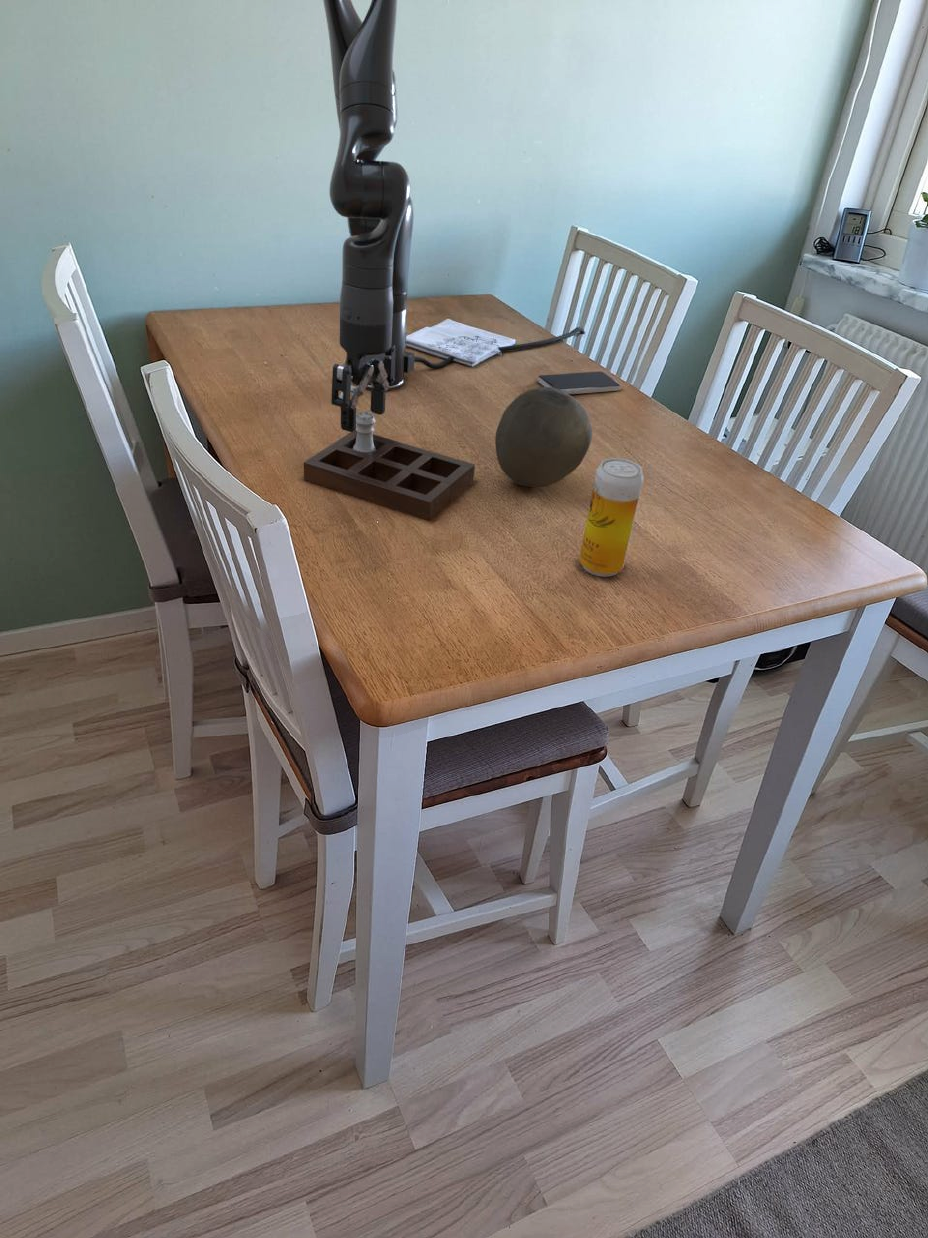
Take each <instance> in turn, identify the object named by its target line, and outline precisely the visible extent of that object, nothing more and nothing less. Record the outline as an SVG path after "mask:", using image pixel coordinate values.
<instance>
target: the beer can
mask: <svg viewBox="0 0 928 1238" xmlns="http://www.w3.org/2000/svg"><path fill="white" fill-rule="evenodd" d="M643 485H644V475H643V468H642V467H641V465H640V464H639V463H637V462H635V461H632V460H630V459H627V458H621V457H610V458H605V459H604V460H602V461H601V463H600V465H599V466H598V467H597V468H596V470H595V476H594V480H593V486H592V490H591V491H592V492H591V497H590V502H589V507H588V512H587V517H586V523H585V527H584V532H583V538H582V543H581V548H580V553H579V562H580V563H581V566H582V568H583V569H584V570H585V571H586V572H587V573H589V574H591V575H593V576H597V577H603V578H606V577H613V576H615V575H617V574H618V573H619V572H621V571H622V570H623V569H624V567H625V563H626V559H627V555H628V549H629V546H630V541H631V536H632V532H633V528H634V523H635V520H636V515H637V510H638V505H639V501H640V497H641V494H642V493H641V492H642V489H643V488H642V487H643Z"/></svg>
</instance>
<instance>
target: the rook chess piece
mask: <svg viewBox="0 0 928 1238" xmlns="http://www.w3.org/2000/svg"><path fill="white" fill-rule="evenodd" d="M363 412H364V413H363ZM376 422H377V420H376V419H375V417H374V413H373V412H371V411H369V412H368V410H364V411H362V410H360V411H358V412H356V430H357V438H356V443H355V445H354V447H353V449H354V450H357V451H361V452H364V453H367V454H371V453H373V452H374V451H376V449H375V446H374V443H373V434H374V433H373V432H374V431H375V428H374V427H373V426H374V424H375V423H376Z"/></svg>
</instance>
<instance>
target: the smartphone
mask: <svg viewBox="0 0 928 1238" xmlns="http://www.w3.org/2000/svg"><path fill="white" fill-rule="evenodd" d="M537 382H538V383H539V384H540V385H542V387H552V388H556V389H559V390H562V391H564V392H566V393H567V394H569V395H577V394H579V395H580V394H591V393H592V394H593V393H604V392H616V391H617V392H619V391H621V388H622V384H620V383H619V382H618V381H616V380H615V379H614V378H612V377H611V376H610V375H608V374H607V373H605V372H603V371H587V372H585V371H584V372H571V373H555V374H541V375H538V376H537Z"/></svg>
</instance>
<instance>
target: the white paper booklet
mask: <svg viewBox="0 0 928 1238" xmlns="http://www.w3.org/2000/svg"><path fill="white" fill-rule="evenodd" d="M512 345H516V339H514V338H510V337H507V336H505V335H502V334H497V333H494V332H490V331H487V330H484V329H481V328H477V327H473V326H470V325H467V324H464V323H461V322H457V321H454V320H452V319H450V318H446V319H445V320H443V321H441V322H439V323H438V324H435V325H433V326H430V327H429V326H425V327H423V328H421V329H418V330H415V331H414V332H412V333H410V334H406V347H408V348H411V349H414V350H417V351H421V352H424V353H426V354H430V355H432V356H435V357H438V358H442V359H444V360H446V359H447V358H449V357H451V356H452V357H454V360H453V361H452V362H455V363H459V364H462V365H465V366H468V367H472V368H473V367H474V366H476V365H478V364H479V363H481V362H483V361H485V360H487V359H488V358H490V357H493V356H494V355H498V356H502V352H500V351H499V350H498V348H499V347H505V346H512Z"/></svg>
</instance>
